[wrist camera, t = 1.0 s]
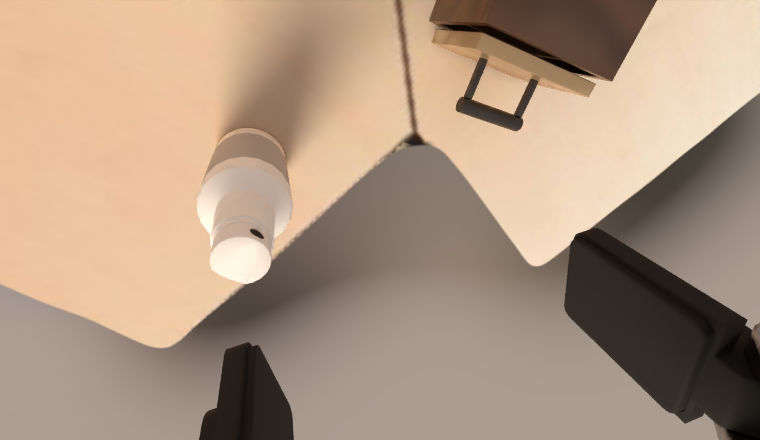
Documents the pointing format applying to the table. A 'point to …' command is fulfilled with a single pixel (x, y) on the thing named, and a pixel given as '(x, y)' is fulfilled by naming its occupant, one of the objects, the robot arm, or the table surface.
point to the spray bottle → (245, 203)
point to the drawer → (507, 70)
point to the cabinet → (557, 28)
